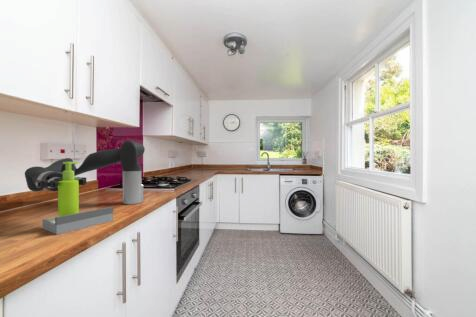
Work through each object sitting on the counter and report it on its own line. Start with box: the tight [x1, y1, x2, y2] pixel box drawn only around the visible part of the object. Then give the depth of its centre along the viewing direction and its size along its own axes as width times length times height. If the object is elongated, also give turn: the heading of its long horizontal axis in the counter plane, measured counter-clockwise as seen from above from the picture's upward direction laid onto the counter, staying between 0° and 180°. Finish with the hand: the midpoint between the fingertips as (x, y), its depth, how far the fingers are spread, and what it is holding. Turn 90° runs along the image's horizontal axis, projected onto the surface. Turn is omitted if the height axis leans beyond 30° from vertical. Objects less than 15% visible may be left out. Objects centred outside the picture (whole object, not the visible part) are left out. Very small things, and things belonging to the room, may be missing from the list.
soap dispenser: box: [57, 161, 80, 217], centre depth 80 cm, size 6×7×20 cm
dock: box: [41, 206, 114, 236], centre depth 82 cm, size 18×12×5 cm, turn 148°
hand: (70, 183), depth 79 cm, fingers open, 8 cm apart
